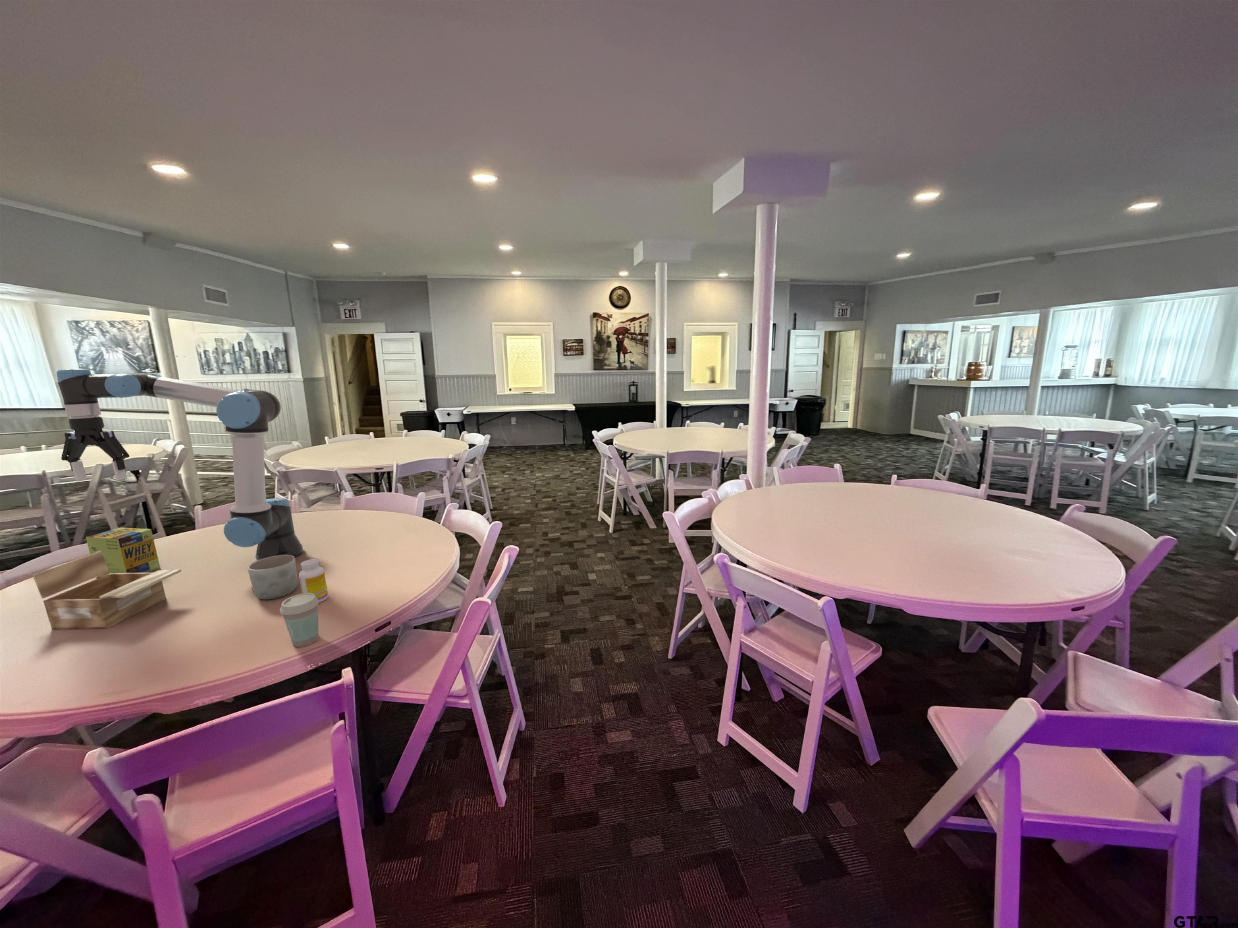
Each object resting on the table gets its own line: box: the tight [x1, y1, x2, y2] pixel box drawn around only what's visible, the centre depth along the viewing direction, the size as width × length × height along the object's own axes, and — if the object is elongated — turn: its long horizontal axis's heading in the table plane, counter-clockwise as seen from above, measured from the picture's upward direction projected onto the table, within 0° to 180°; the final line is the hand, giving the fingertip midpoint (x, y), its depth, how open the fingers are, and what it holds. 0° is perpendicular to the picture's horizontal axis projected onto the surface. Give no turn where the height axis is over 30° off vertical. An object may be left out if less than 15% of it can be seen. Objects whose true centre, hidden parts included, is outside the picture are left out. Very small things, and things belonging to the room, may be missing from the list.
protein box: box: [85, 527, 161, 578], centre depth 173 cm, size 10×15×16 cm
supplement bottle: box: [298, 558, 329, 604], centre depth 148 cm, size 7×7×13 cm
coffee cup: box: [279, 593, 320, 648], centre depth 126 cm, size 8×8×12 cm
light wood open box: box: [43, 569, 182, 631], centre depth 144 cm, size 23×18×10 cm
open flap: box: [32, 551, 109, 599], centre depth 142 cm, size 7×17×7 cm
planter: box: [247, 555, 298, 600], centre depth 154 cm, size 12×12×11 cm
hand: (101, 480), depth 160 cm, fingers open, 13 cm apart
